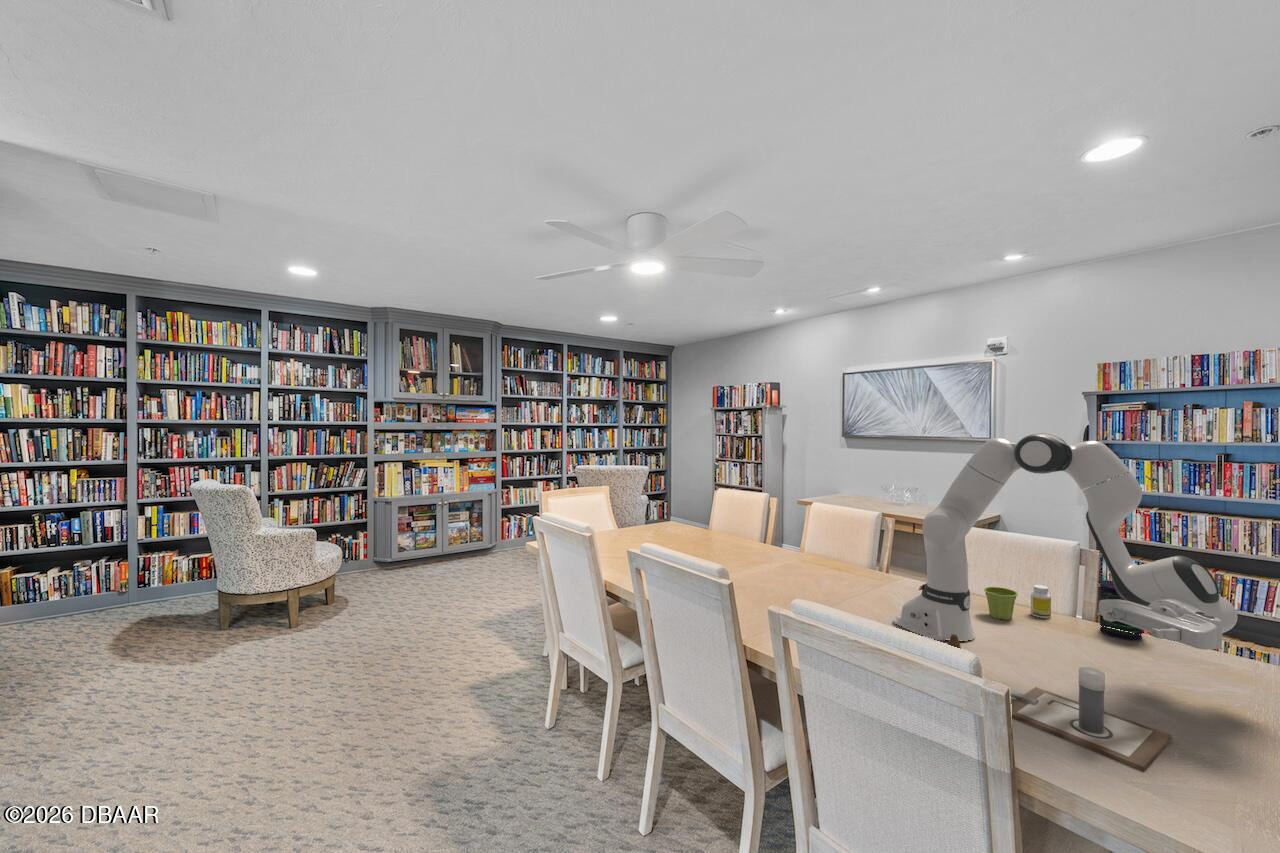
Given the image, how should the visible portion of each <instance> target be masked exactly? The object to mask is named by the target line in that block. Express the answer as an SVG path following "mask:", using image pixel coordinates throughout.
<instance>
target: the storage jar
mask: <svg viewBox="0 0 1280 853" xmlns="http://www.w3.org/2000/svg"><path fill="white" fill-rule="evenodd" d="M1098 593H1099V594H1098V595H1099V597H1098V598H1099V601H1100V600H1108V599H1119V600H1124V599H1123V598H1122V597H1121V596H1120V595H1119V594H1118V593H1117V591H1116V589H1115V586H1114V583H1113V580H1101V581H1100V582H1099V592H1098ZM1098 617H1099V620H1098V622H1099V626H1100V625H1101V626H1102V627H1101V626H1100V628H1099V632H1100V631H1101V632H1102V634H1103V633H1104V634H1103V635H1105V634H1106V636H1107V635H1108V637H1110V636H1111V637H1110V638H1113V637H1115V638H1114V639H1117V638H1119V639H1118V640H1122V639H1123V641H1131V642H1132V641H1133V642H1136V641H1137V642H1139V641H1142V640H1143V635H1142V634H1143V630H1142V629H1139V628H1136V627H1134V626H1131V625H1128V624H1125V623H1122V622H1119V621H1116V620H1115V621H1112V622H1110V621H1107V620H1104V619H1103V616H1102V615H1100V614H1098ZM1104 626H1105V627H1104ZM1107 627H1111V628H1107ZM1112 628H1115V629H1112ZM1116 629H1120V631H1119V630H1116ZM1121 630H1123V631H1121ZM1125 631H1128V632H1125ZM1101 632H1100V633H1101ZM1130 632H1132V633H1130ZM1133 633H1134V634H1133ZM1139 634H1140V635H1139ZM1141 635H1142V636H1141Z"/></svg>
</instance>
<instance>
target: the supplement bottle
mask: <svg viewBox="0 0 1280 853" xmlns="http://www.w3.org/2000/svg"><path fill="white" fill-rule="evenodd" d="M1032 587H1033V591H1031V593H1030V615H1032V616H1033V617H1035V616H1036V618H1039V617H1040V618H1039V619H1050V618H1051V617H1052V613H1051V612H1052V596H1051V595H1050V593H1049V587H1048V586H1046V585H1041V584H1034V585H1033V586H1032Z"/></svg>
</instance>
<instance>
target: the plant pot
mask: <svg viewBox="0 0 1280 853" xmlns="http://www.w3.org/2000/svg"><path fill="white" fill-rule="evenodd" d="M983 591H984V594H985V596H986V600H987V606H988V612H989V616H990V617H992V618H994V619H996V620H1003V621H1010V620H1012V619H1013V613H1014V608H1015V603H1016V599H1017V596H1019V594H1018V593H1019V592H1017V591H1015V590H1014V589H1011V588H1005V587H1002V586H1001V587H1000V586H988V587H987V586H986V587H984V588H983Z"/></svg>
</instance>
